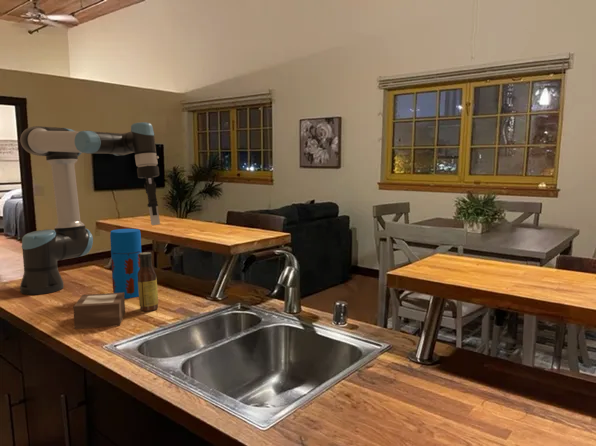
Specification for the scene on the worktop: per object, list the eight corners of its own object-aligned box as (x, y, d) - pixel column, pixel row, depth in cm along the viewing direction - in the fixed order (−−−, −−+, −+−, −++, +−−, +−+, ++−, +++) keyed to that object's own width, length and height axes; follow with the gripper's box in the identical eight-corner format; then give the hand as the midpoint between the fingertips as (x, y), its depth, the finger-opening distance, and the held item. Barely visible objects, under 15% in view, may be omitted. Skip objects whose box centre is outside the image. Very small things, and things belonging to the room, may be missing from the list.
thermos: (147, 291, 180) (145, 228, 177) (135, 299, 169) (132, 233, 166) (121, 290, 181) (118, 228, 178) (107, 298, 170) (104, 232, 167)
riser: (83, 315, 151) (82, 294, 150) (125, 312, 154) (124, 292, 153) (74, 328, 139) (73, 306, 138) (119, 325, 142) (118, 303, 141)
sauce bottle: (162, 307, 160) (160, 251, 157) (151, 312, 154) (149, 255, 152) (146, 305, 162) (144, 250, 159) (135, 310, 156) (132, 254, 154)
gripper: (159, 161, 153) (168, 223, 155) (157, 168, 177) (164, 222, 178) (136, 163, 151) (145, 226, 152) (136, 170, 175) (144, 225, 176)
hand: (155, 224), depth 165 cm, fingers open, 13 cm apart
